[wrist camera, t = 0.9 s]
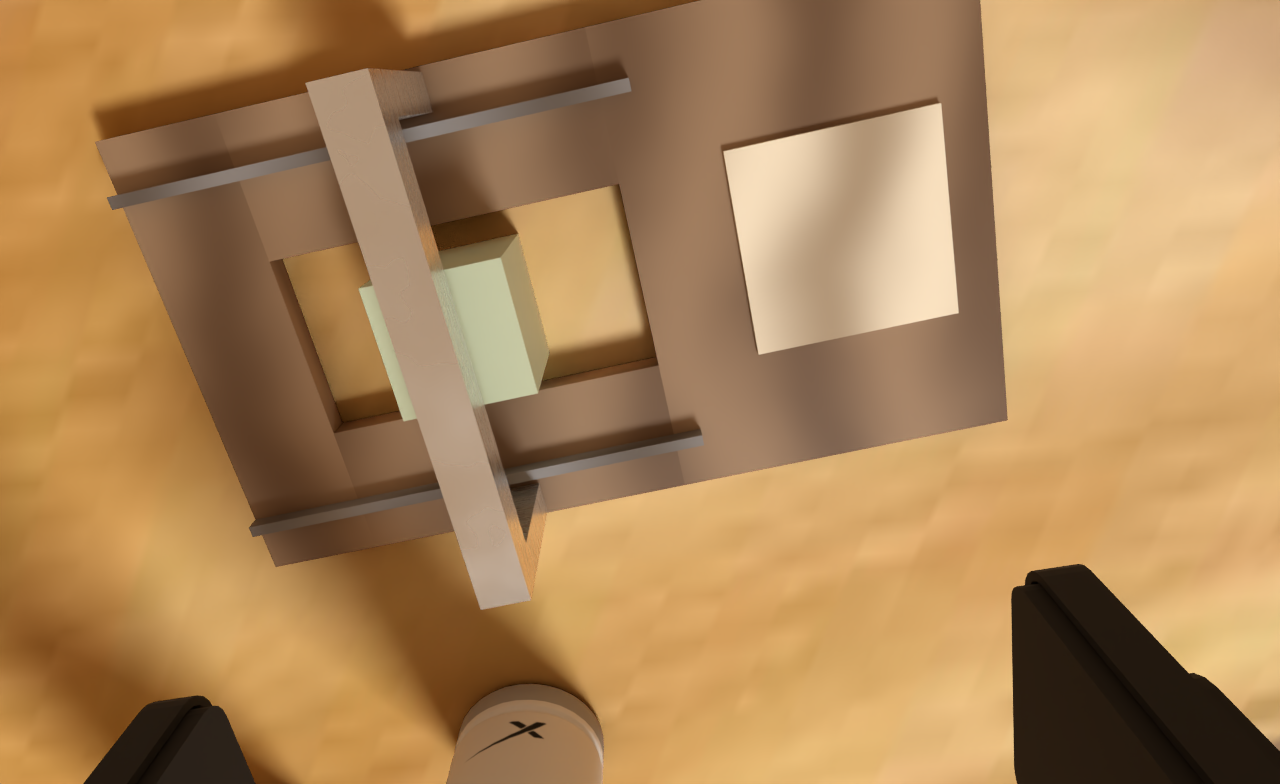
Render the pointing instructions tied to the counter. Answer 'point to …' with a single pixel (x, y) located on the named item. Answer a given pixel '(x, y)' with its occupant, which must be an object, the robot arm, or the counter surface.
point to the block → (482, 321)
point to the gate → (427, 326)
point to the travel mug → (528, 739)
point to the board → (662, 242)
